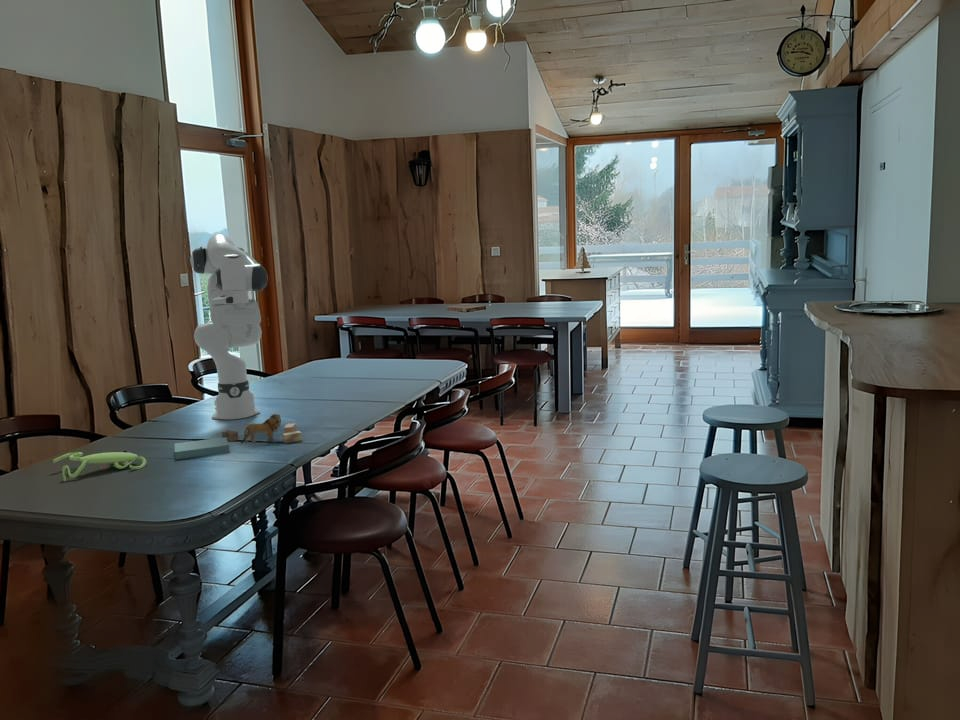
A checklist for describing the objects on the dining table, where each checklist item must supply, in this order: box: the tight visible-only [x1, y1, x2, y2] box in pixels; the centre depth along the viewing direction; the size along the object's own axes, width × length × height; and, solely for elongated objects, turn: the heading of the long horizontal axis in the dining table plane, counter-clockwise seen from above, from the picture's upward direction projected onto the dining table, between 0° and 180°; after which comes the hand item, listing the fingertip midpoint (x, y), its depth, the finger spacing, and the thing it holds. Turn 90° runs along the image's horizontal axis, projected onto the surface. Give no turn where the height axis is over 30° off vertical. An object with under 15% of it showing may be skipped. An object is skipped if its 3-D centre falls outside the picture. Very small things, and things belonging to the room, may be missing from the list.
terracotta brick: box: [283, 422, 298, 433], centre depth 286 cm, size 6×3×3 cm, turn 179°
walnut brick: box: [220, 429, 240, 442], centre depth 281 cm, size 6×3×3 cm, turn 51°
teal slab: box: [174, 436, 230, 460], centre depth 266 cm, size 12×17×2 cm
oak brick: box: [281, 430, 303, 444], centre depth 275 cm, size 6×3×3 cm, turn 121°
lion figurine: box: [240, 413, 282, 444], centre depth 276 cm, size 15×5×9 cm, turn 120°
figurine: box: [52, 450, 147, 482], centre depth 252 cm, size 18×27×6 cm
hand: (239, 337), depth 281 cm, fingers open, 8 cm apart
